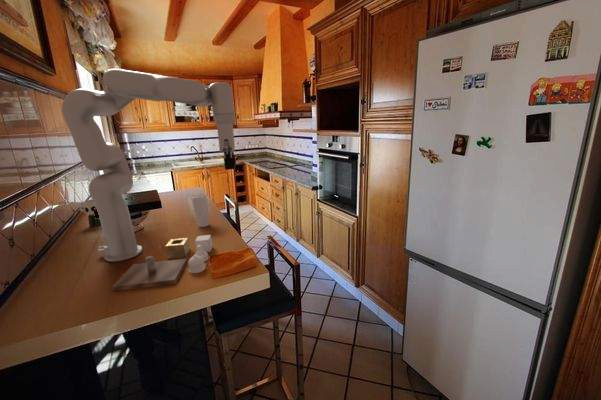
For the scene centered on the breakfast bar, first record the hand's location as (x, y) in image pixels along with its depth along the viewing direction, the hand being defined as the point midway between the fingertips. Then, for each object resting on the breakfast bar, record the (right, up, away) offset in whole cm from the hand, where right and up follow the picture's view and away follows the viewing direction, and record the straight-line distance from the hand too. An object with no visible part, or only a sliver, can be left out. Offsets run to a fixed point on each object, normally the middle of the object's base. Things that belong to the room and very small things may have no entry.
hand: (230, 167), depth 106 cm
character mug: (-80, -25, +42) cm, 94 cm away
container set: (-10, -34, -4) cm, 36 cm away
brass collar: (-20, -33, +1) cm, 38 cm away
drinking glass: (-21, -25, +30) cm, 44 cm away
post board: (-22, -37, -13) cm, 45 cm away
